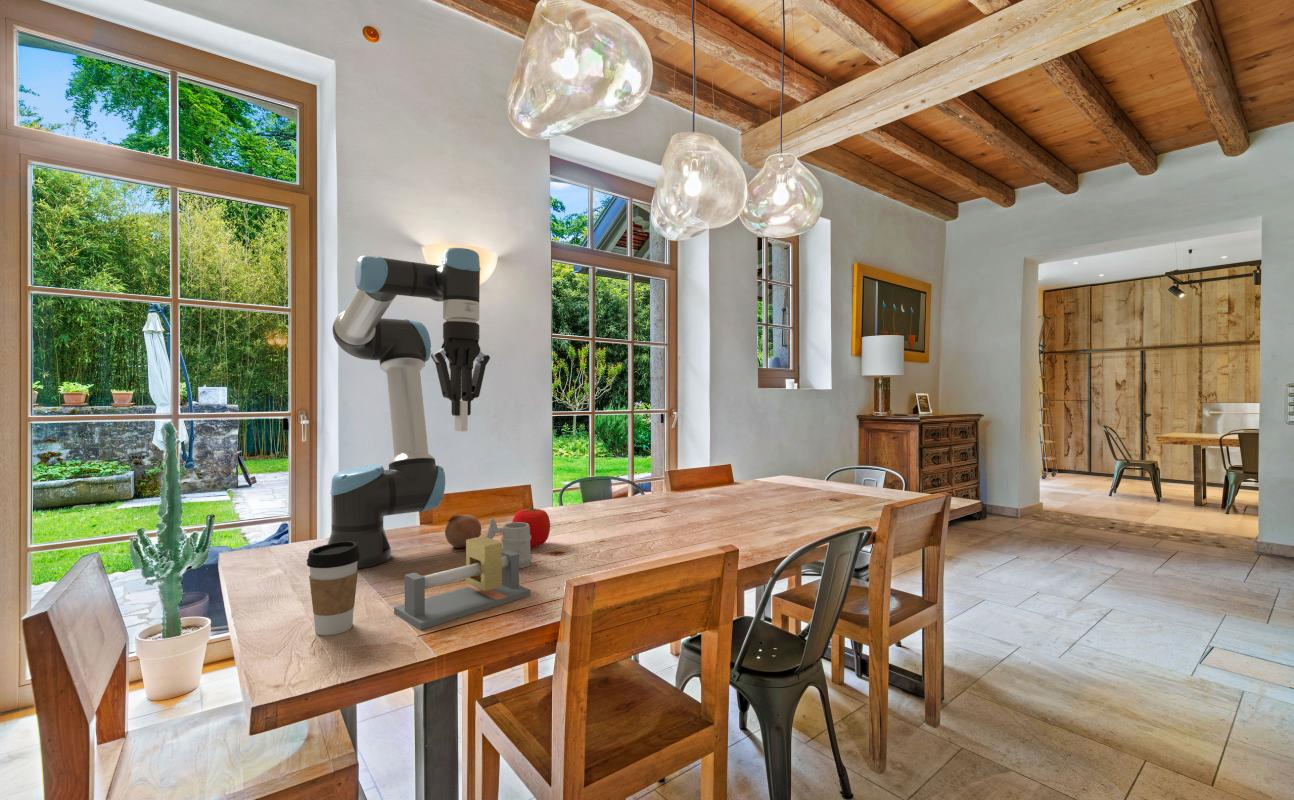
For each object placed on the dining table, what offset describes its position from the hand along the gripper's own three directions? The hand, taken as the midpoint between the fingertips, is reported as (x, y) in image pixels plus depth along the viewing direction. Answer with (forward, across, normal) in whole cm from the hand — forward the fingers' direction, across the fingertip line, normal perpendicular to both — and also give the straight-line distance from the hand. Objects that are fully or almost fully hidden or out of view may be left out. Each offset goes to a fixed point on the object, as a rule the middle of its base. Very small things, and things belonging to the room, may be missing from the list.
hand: (461, 430), depth 124 cm
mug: (+35, +16, +6) cm, 39 cm away
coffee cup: (+35, -26, -3) cm, 44 cm away
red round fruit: (+35, +30, +16) cm, 49 cm away
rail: (+34, -4, -9) cm, 36 cm away
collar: (+32, 0, -9) cm, 33 cm away
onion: (+35, +17, +29) cm, 48 cm away
